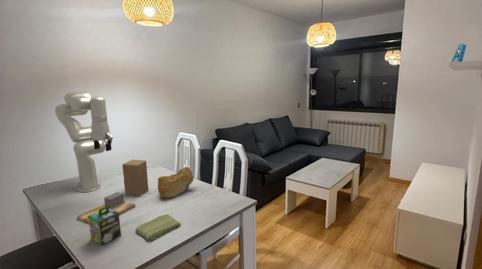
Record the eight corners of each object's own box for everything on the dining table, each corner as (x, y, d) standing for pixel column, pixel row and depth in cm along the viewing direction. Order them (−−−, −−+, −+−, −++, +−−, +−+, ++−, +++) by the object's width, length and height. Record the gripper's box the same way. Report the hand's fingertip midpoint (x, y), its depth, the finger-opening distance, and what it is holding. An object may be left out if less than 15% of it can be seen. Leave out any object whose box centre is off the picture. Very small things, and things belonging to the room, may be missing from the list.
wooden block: (139, 196, 152) (136, 165, 148) (125, 195, 154) (121, 164, 150) (148, 190, 161) (146, 160, 157) (134, 188, 163) (132, 159, 159)
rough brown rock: (183, 184, 173) (180, 163, 170) (197, 189, 161) (194, 166, 159) (151, 195, 156) (147, 172, 154) (164, 202, 145) (160, 177, 142)
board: (77, 219, 126) (77, 216, 126) (115, 201, 146) (115, 198, 145) (98, 226, 120) (98, 223, 119) (135, 206, 139) (135, 204, 139)
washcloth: (182, 226, 121) (182, 220, 120) (149, 243, 108) (148, 237, 107) (166, 217, 129) (166, 211, 128) (133, 232, 116) (133, 226, 115)
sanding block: (105, 208, 134) (104, 197, 133) (118, 202, 141) (117, 192, 140) (111, 210, 132) (110, 199, 131) (124, 203, 139) (123, 193, 138)
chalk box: (110, 229, 118) (107, 200, 115) (122, 235, 113) (118, 205, 110) (90, 239, 110) (86, 208, 107) (101, 246, 105) (97, 214, 102)
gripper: (83, 119, 139) (86, 149, 143) (103, 121, 132) (107, 153, 135) (95, 118, 146) (99, 146, 149) (116, 119, 139) (119, 149, 142)
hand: (102, 149), depth 142 cm, fingers open, 9 cm apart
